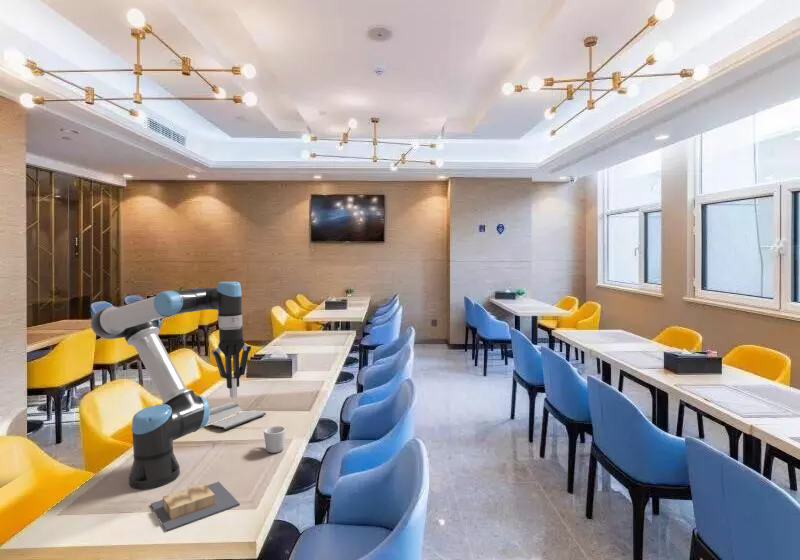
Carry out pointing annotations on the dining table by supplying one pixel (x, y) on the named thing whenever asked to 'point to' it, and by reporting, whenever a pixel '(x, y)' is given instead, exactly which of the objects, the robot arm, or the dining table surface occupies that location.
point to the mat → (229, 409)
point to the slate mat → (221, 504)
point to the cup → (274, 439)
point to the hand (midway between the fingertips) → (233, 396)
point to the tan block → (188, 501)
